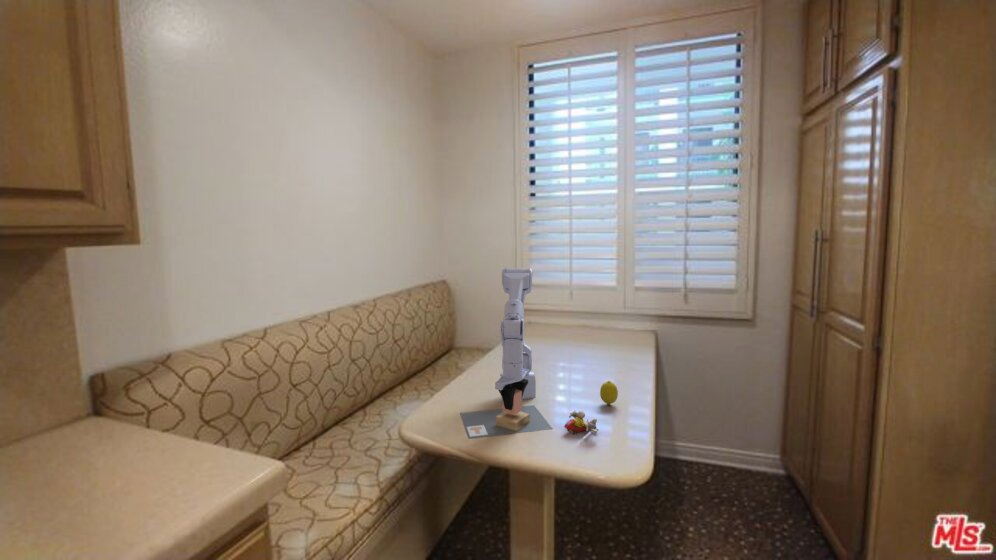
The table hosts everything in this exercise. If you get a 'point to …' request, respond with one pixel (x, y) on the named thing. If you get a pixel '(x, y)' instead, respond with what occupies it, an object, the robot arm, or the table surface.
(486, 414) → the board
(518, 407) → the pillar
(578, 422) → the toy airplane
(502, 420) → the slab
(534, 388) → the robot arm
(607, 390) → the lemon
